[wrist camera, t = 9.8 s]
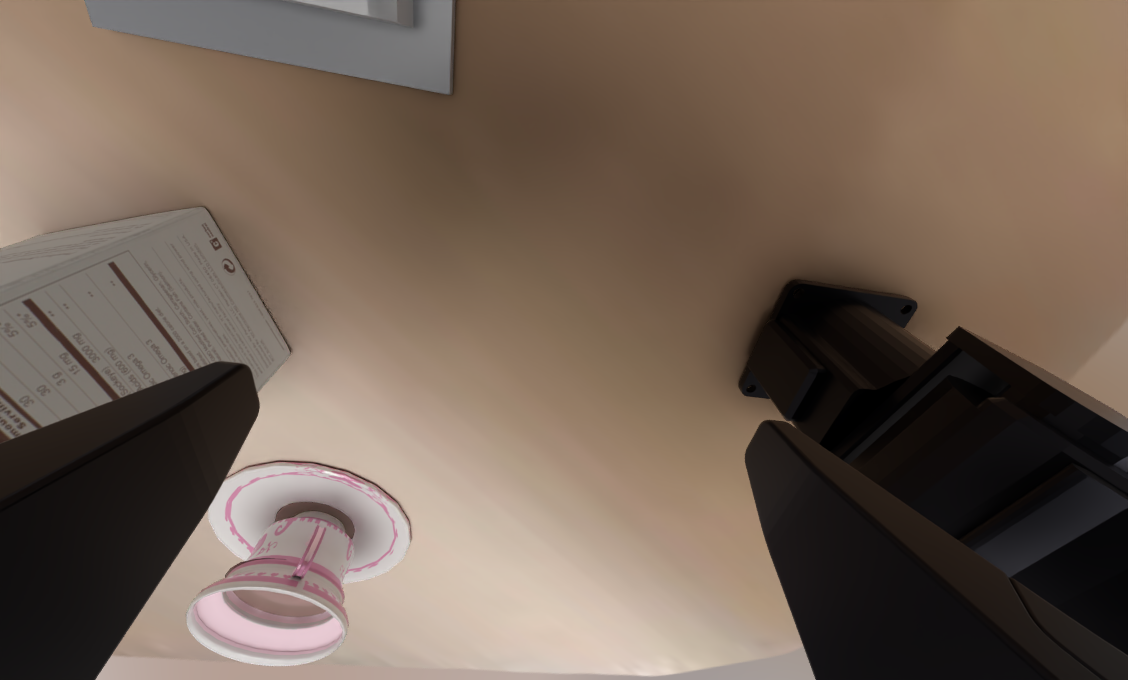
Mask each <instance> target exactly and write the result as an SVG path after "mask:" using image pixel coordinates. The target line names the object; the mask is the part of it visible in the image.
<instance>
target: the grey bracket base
mask: <svg viewBox="0 0 1128 680" xmlns="http://www.w3.org/2000/svg"><path fill="white" fill-rule="evenodd" d="M84 1H85V4H86V7H87V10H88V13H89V16H90V19H91V22H92V26H93V27H98V28H103V29H108V30H113V31H118V32H124V33H129V34H134V35H139V36H145V37H150V38H155V39H160V40H166V41H171V42H176V43H181V44H186V45H192V46H197V47H202V48H207V49H213V50H218V51H223V52H228V53H233V54H239V55H244V56H249V57H254V58H260V59H265V60H270V61H275V62H281V63H286V64H291V65H296V66H301V67H307V68H312V69H317V70H322V71H328V72H333V73H338V74H343V75H348V76H354V77H359V78H364V79H369V80H375V81H380V82H385V83H390V84H396V85H401V86H406V87H411V88H416V89H422V90H427V91H432V92H437V93H443V94H448V95H451V94H453V64H454V35H455V6H456V0H84Z"/></svg>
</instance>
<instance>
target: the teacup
mask: <svg viewBox="0 0 1128 680" xmlns="http://www.w3.org/2000/svg"><path fill="white" fill-rule="evenodd" d="M296 502H317V503H321V504H325V505H329V506H331V507H333V508H336V509H338V510H340V511H341V512H343V513H344V514H345V515H347V516H348V517H349V518H350V520H351V521H352V522H353V524H354V529H355V532H354V535H353V537H352V538H351V539H350V537H349V536H348V535H347V534H346V533H345V528H344V526H343V524H342V523H341V522H340V521H339V520H338V519H337V518H335V517H334V516H332V515H329V514H327V513H323V512H317V511H307V512H302V513H299V514H297V515H296V516H295V517H293V518H288V519H283V520H280V521H277V522H276V521H275V520H276V514H277V513H278V511H279V510H280V509H281V508H282V507H284V506H286V505H288V504H290V503H296ZM208 520H209V522H210V525H211V527H212V529H213V531H214V533H215V535H216V537H217V538H218V539H219V540H220V541H221V542H222V543H223V544H224V545H225V546H226V547H227V548H228V549H229V550H230V551H231V552H232V553H233V554H235V555H236V556H237V557H239V558H241V559H243V560H244V562H241V563H239V564H237V565H235V566H233V567H232V568H230V570H229V571H228V572H227V573H226V575H225V578H223V579H221V580H219V581H216V582H214V583H213V584H211V585H209V586H208V587H206V588H205V589H203V590H202V591H201V592H200V593H198V594H197V595H196V597H195V598H194V599H193V600H192V602H191V604H190V606H189V608H188V610H187V612H186V622H187V626H188V628H189V630H190V632H191V634H192V635H193V636H194V638H195V639H196V640H197V641H199V642H200V643H201V644H202V645H204V646H205V647H207V648H208V649H210V650H212V651H214V652H216V653H218V654H220V655H222V656H225V657H227V658H230V659H234V660H237V661H241V662H245V663H250V664H256V665H265V666H292V665H300V664H305V663H310V662H313V661H316V660H319V659H322V658H324V657H326V656H328V655H329V654H331V653H333V652H334V651H335V650H337V649H338V648H339V647H340V646H341V645H342V643H343V641H344V639H345V637H346V635H347V631H348V626H349V624H348V617H347V613H346V610H345V608H344V607H343V603H344V598H345V596H344V592H343V586H342V584H346V583H352V582H358V581H364V580H369V579H371V578H374V577H376V576H379V575H381V574H383V573H386V572H388V571H390V570H391V569H392V568H393V567H394V566H395V565H397V564H398V563H399V562H400V561H401V560H403V558H404V556H405V554H406V551H407V549H408V547H409V545H410V542H411V534H410V526H409V521H408V519H407V518H406V516H405V514H404V513H403V511H402V510H401V508H400V507H399V505H398V503H397V502H395V501H394V500H393V499H392V498H390V497H389V496H388V495H387V494H386V493H384V492H383V491H382V490H381V489H379V488H378V487H377V486H376V485H373V484H371V483H369V482H367V481H365V480H363V479H361V478H359V477H357V476H355V475H352V474H350V473H348V472H345V471H341V470H337V469H333V468H329V467H325V466H321V465H317V464H313V463H293V462H274V463H269V464H263V465H258V466H252V467H247V468H245V469H243V470H241V471H239V472H238V473H236V474H234V475H232V476H230V477H228V478H226V479H225V480H224V482H223V484H222V486H221V488H220V490H219V491H218V493H217V495H216V497H215V498H214V500H213V502H212V503H211V505H210V507H209V508H208Z"/></svg>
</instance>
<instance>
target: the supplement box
mask: <svg viewBox="0 0 1128 680" xmlns="http://www.w3.org/2000/svg"><path fill="white" fill-rule="evenodd" d="M290 354H291V353H290V351H289V349H288V346H287V344H286V343H285V341H284V339H283V337H282V335H281V334H280V332H279V330H278V328H277V327H276V325H275V324H274V322H273V320H272V318H271V316H270V315H269V313H268V311H267V310H266V308H265V306H264V305H263V303H262V301H261V300H260V298H259V296H258V294H257V292H256V291H255V289H254V287H253V286H252V284H251V282H250V281H249V279H248V277H247V276H246V274H245V272H244V271H243V269H242V267H241V265H240V263H239V262H238V260H237V259H236V257H235V255H234V253H233V252H232V250H231V248H230V247H229V245H228V243H227V242H226V240H225V238H224V237H223V235H222V234H221V232H220V230H219V228H218V227H217V225H216V223H215V222H214V220H213V219H212V217H211V215H210V214H209V212H208V211H207V210H206V209H205V208H204V207H195V208H188V209H182V210H175V211H168V212H162V213H157V214H151V215H145V216H139V217H134V218H128V219H123V220H118V221H112V222H107V223H102V224H96V225H91V226H86V227H80V228H75V229H70V230H64V231H59V232H54V233H49V234H44V235H38V236H35V237H33V238H30V239H27V240H24V241H21V242H18V243H15V244H12V245H9V246H6V247H3V248H0V443H2V442H4V441H7V440H10V439H12V438H15V437H18V436H20V435H23V434H26V433H28V432H31V431H34V430H36V429H39V428H42V427H44V426H47V425H49V424H52V423H55V422H57V421H60V420H63V419H65V418H68V417H71V416H73V415H76V414H79V413H81V412H84V411H87V410H89V409H92V408H94V407H97V406H100V405H102V404H105V403H108V402H110V401H113V400H116V399H118V398H121V397H124V396H126V395H129V394H132V393H134V392H137V391H139V390H142V389H145V388H147V387H150V386H153V385H155V384H158V383H161V382H163V381H166V380H169V379H171V378H174V377H177V376H179V375H182V374H184V373H187V372H190V371H192V370H195V369H198V368H200V367H203V366H206V365H208V364H211V363H214V362H217V361H227V362H236V363H244V364H246V365H248V366H249V367H250V369H251V371H252V374H253V378H254V382H255V386H256V390H257V393H258V392H259V391H260V389H261V388H262V387H263V386H264V385H265V384H266V383H267V382H268V380H269V379H270V378H271V377H272V376H273V375H274V373H275V372H276V371H277V370H278V369H279V368H280V367H281V365H282V364H283V363H284V362H285V361H286V360H287V359H288V357H289V356H290Z"/></svg>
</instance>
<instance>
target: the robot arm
mask: <svg viewBox="0 0 1128 680" xmlns="http://www.w3.org/2000/svg"><path fill="white" fill-rule="evenodd" d="M797 289H800V291H799V292H798V293H797V294H795V295H793V293H794V292H795V290H797ZM904 306H905V307H904ZM903 307H904V308H903ZM902 308H903V309H902ZM916 309H917V303H916V301H914V300H912V299H911V298H909V297H907V296H901V295H894V294H888V293H881V292H875V291H868V290H862V289H855V288H849V287H842V286H836V285H829V284H823V283H816V282H810V281H803V280H794V281H791V282H790V283H789V284H787V285H786V287H785V288H784V290H783V292H782V295H781V297H780V299H779V301H778V303H777V305H776V307H775V309H774V311H773V313H772V315H771V318H770V320H769V322H768V323H767V324H766V325H765V327H764V330H763V332H762V334H761V336H760V338H759V340H758V342H757V344H756V346H755V348H754V351H753V353H752V355H751V357H750V359H749V361H748V363H747V365H748V366H747V368H746V370H745V372H744V374H743V376H742V378H741V380H740V382H739V389H740V391H741V392H742V394H744V395H745V396H750V397H758V398H767V399H771V400H772V402H773V403H774V404H775V406H776V407H777V409H778V410H779V412H780V413H781V414H782V416H783V417H784V419H785V420H786V421H791V422H792V423H793V424H794V426H795V427H796V428H797V429H796V428H795V427H793V426H792V425H791V424H789V423H787V422H784V421H775V420H765V421H763V422H762V423H761V424H760V425H759V427H758V429H757V431H756V433H755V434H754V436H753V438H752V440H751V442H750V444H749V445H748V447H747V449H746V453H745V464H746V468H747V472H748V476H749V480H750V484H751V488H752V492H753V496H754V500H755V504H756V508H757V511H758V515H759V519H760V523H761V527H762V531H763V534H764V537H765V541H766V544H767V547H768V550H769V553H770V555H771V558H772V561H773V564H774V566H775V569H776V572H777V575H778V577H779V580H780V583H781V586H782V588H783V591H784V594H785V597H786V599H787V602H788V605H789V608H790V610H791V613H792V616H793V619H794V621H795V624H796V627H797V630H798V632H799V635H800V638H801V641H802V643H803V646H804V649H805V652H806V654H807V657H808V660H809V663H810V665H811V668H812V671H813V674H814V676H815V679H816V680H1128V418H1126V417H1125V416H1123V415H1122V414H1120V413H1118V412H1117V411H1115V410H1114V409H1112V408H1110V407H1108V406H1107V405H1105V404H1103V403H1101V402H1100V401H1098V400H1096V399H1095V398H1093V397H1091V396H1089V395H1088V394H1086V393H1084V392H1083V391H1081V390H1079V389H1077V388H1075V387H1074V386H1072V385H1070V384H1069V383H1067V382H1065V381H1063V380H1062V379H1060V378H1058V377H1056V376H1055V375H1053V374H1051V373H1049V372H1048V371H1046V370H1044V369H1042V368H1040V367H1038V366H1036V365H1035V364H1033V363H1031V362H1029V361H1027V360H1025V359H1023V358H1021V357H1019V356H1017V355H1015V354H1013V353H1011V352H1009V351H1007V350H1005V349H1003V348H1001V347H999V346H997V345H995V344H993V343H991V342H989V341H988V340H986V339H984V338H982V337H980V336H978V335H976V334H974V333H972V332H970V331H968V330H966V329H964V328H962V327H960V326H958V327H957V328H956V329H955V330H954V331H953V332H952V333H951V334H950V335H949V336H948V337H947V339H948V341H947V342H946V343H945V344H944V345H943V346H942V347H941V348H940V349H939V350H938V351H937V352H936V351H935V350H933V349H932V348H930V347H929V346H928V345H926V344H925V343H923V342H922V341H920V340H919V339H918V338H916V337H915V336H913V335H912V334H911V333H909V332H908V331H906V330H905V329H904V328H905V326H906V325H907V323H908V322H909V320H910V319H911V317H912V316H913V314H914V313H915V311H916ZM750 385H752V386H751V387H749V388H747V387H748V386H750ZM259 408H260V403H259V398H258V394H257V390H256V386H255V382H254V378H253V374H252V371H251V369H250V367H249V366H248V365H246V364H244V363H236V362H227V361H217V362H214V363H211V364H208V365H206V366H203V367H200V368H198V369H195V370H192V371H190V372H187V373H184V374H182V375H179V376H177V377H174V378H171V379H169V380H166V381H163V382H161V383H158V384H155V385H153V386H150V387H147V388H145V389H142V390H139V391H137V392H134V393H132V394H129V395H126V396H124V397H121V398H118V399H116V400H113V401H110V402H108V403H105V404H102V405H100V406H97V407H94V408H92V409H89V410H87V411H84V412H81V413H79V414H76V415H73V416H71V417H68V418H65V419H63V420H60V421H57V422H55V423H52V424H49V425H47V426H44V427H42V428H39V429H36V430H34V431H31V432H28V433H26V434H23V435H20V436H18V437H15V438H12V439H10V440H7V441H4V442H2V443H0V680H95V679H96V678H97V676H98V675H99V673H100V672H101V670H102V669H103V667H104V666H105V664H106V663H107V661H108V659H109V658H110V657H111V655H112V654H113V652H114V651H115V649H116V647H117V646H118V644H119V643H120V641H121V640H122V638H123V637H124V635H125V634H126V632H127V631H128V629H129V628H130V626H131V625H132V623H133V622H134V620H135V619H136V617H137V616H138V614H139V613H140V611H141V610H142V608H143V607H144V605H145V604H146V602H147V601H148V599H149V598H150V596H151V595H152V593H153V592H154V590H155V589H156V587H157V586H158V584H159V583H160V581H161V580H162V578H163V576H164V575H165V573H166V572H167V570H168V569H169V567H170V566H171V564H172V563H173V561H174V560H175V558H176V557H177V555H178V554H179V552H180V551H181V549H182V548H183V546H184V545H185V543H186V542H187V540H188V539H189V537H190V536H191V534H192V533H193V531H194V530H195V528H196V527H197V525H198V524H199V522H200V521H201V519H202V518H203V516H204V515H205V513H206V511H207V510H208V508H209V507H210V505H211V503H212V502H213V500H214V498H215V497H216V495H217V493H218V491H219V490H220V488H221V486H222V484H223V482H224V480H225V478H226V476H227V474H228V472H229V470H230V469H231V467H232V465H233V463H234V461H235V459H236V457H237V455H238V453H239V451H240V449H241V447H242V445H243V443H244V442H245V440H246V438H247V436H248V434H249V432H250V430H251V428H252V426H253V424H254V422H255V420H256V418H257V416H258V413H259Z"/></svg>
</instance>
